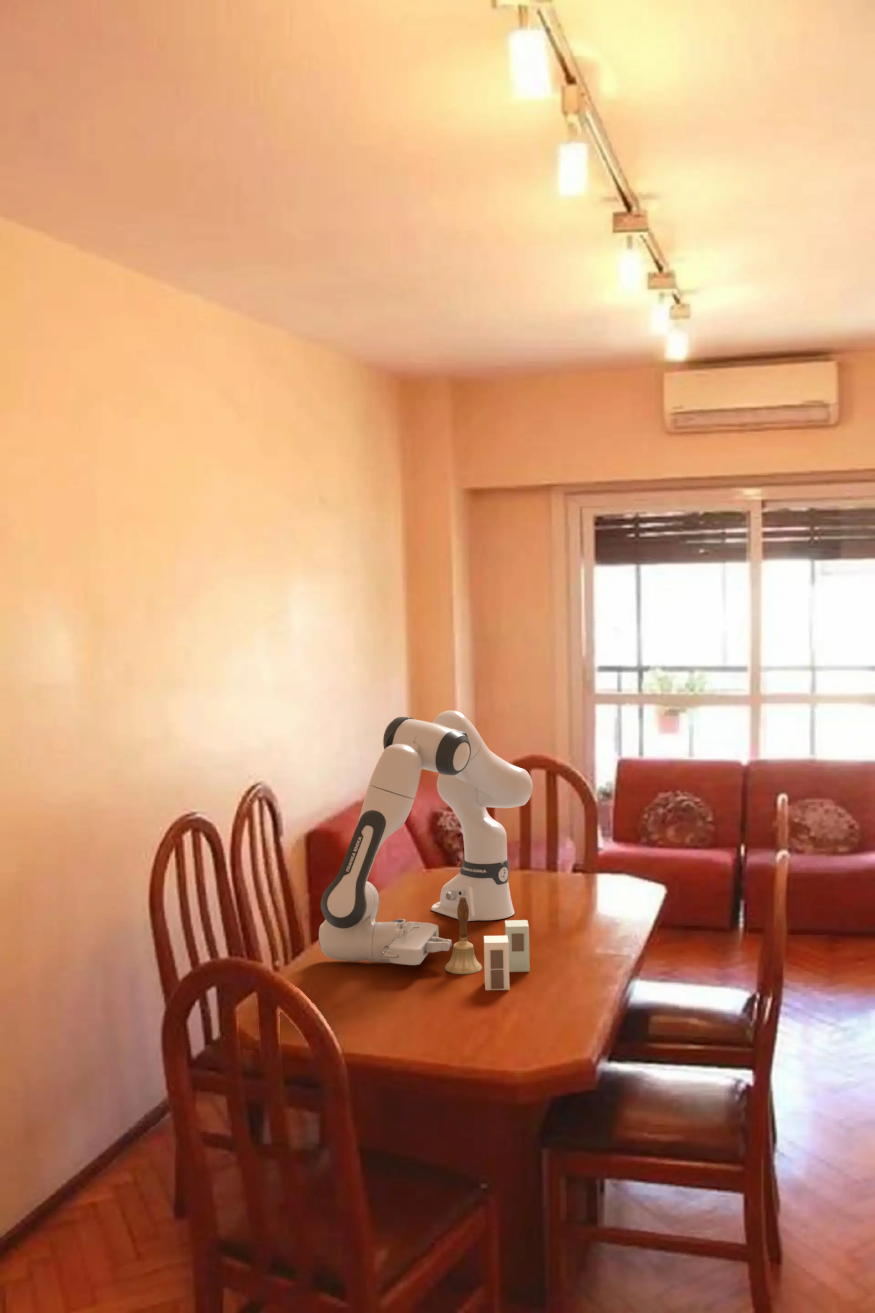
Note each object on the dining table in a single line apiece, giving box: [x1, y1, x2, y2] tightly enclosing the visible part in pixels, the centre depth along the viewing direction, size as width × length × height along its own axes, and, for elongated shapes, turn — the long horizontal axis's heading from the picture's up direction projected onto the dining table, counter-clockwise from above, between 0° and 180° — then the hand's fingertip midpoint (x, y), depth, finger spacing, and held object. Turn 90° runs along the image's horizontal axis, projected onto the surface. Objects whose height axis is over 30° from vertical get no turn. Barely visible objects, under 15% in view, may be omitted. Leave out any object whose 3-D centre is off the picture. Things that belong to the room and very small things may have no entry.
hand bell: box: [444, 897, 483, 975], centre depth 252 cm, size 8×8×16 cm
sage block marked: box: [504, 919, 531, 973], centre depth 251 cm, size 5×5×10 cm
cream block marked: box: [483, 934, 511, 991], centre depth 240 cm, size 5×5×10 cm
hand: (450, 945), depth 253 cm, fingers closed
